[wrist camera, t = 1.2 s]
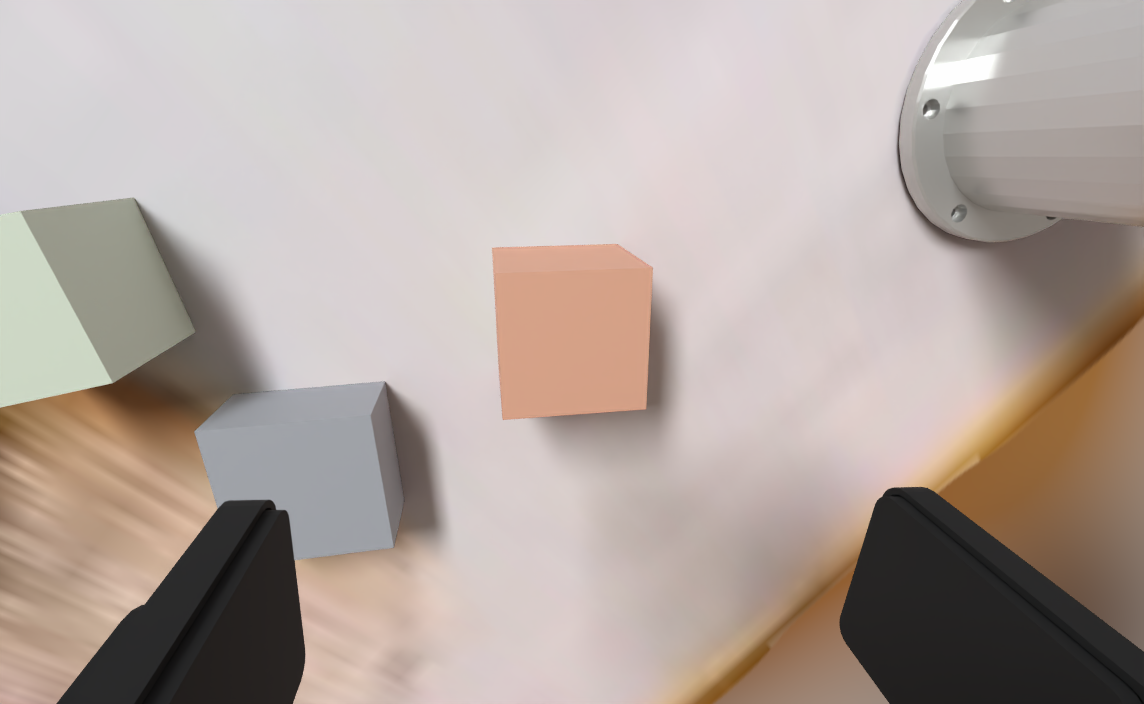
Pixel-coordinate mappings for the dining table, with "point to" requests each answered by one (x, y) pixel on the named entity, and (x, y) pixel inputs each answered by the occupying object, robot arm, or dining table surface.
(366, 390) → the slate-grey block
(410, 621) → the dining table surface
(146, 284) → the sage cube
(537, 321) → the terracotta cube
